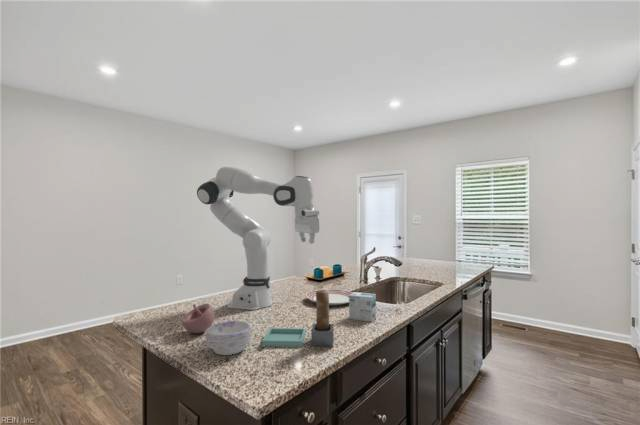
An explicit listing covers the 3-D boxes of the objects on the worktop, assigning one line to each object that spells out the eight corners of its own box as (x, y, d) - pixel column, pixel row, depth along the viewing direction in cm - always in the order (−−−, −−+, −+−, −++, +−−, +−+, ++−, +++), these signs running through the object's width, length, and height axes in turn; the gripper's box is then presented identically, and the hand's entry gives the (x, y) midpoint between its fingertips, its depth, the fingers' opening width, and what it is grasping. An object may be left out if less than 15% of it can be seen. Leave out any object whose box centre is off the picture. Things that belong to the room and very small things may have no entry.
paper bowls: (232, 337, 119) (232, 316, 119) (261, 347, 111) (261, 324, 111) (196, 352, 107) (196, 329, 107) (225, 364, 98) (225, 339, 98)
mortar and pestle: (178, 331, 126) (178, 302, 126) (208, 324, 133) (208, 297, 133) (186, 341, 117) (186, 310, 117) (218, 333, 124) (218, 304, 124)
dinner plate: (357, 294, 180) (357, 289, 180) (356, 309, 153) (356, 302, 153) (310, 293, 184) (310, 287, 184) (301, 307, 157) (301, 301, 157)
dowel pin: (316, 344, 111) (315, 293, 111) (317, 339, 115) (316, 290, 115) (328, 345, 110) (328, 293, 110) (329, 339, 115) (328, 290, 115)
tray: (262, 347, 110) (262, 340, 110) (270, 334, 122) (270, 327, 122) (302, 348, 109) (302, 341, 109) (306, 335, 121) (305, 328, 121)
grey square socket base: (311, 348, 109) (311, 331, 109) (313, 339, 117) (313, 323, 117) (333, 348, 109) (333, 331, 109) (333, 340, 116) (333, 323, 116)
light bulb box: (376, 317, 140) (376, 293, 140) (372, 322, 134) (372, 297, 134) (353, 314, 145) (353, 291, 145) (348, 319, 139) (348, 294, 139)
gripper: (290, 212, 149) (292, 241, 150) (307, 212, 131) (309, 245, 131) (302, 211, 152) (305, 240, 152) (320, 210, 133) (323, 243, 134)
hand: (307, 242), depth 141 cm, fingers open, 8 cm apart
